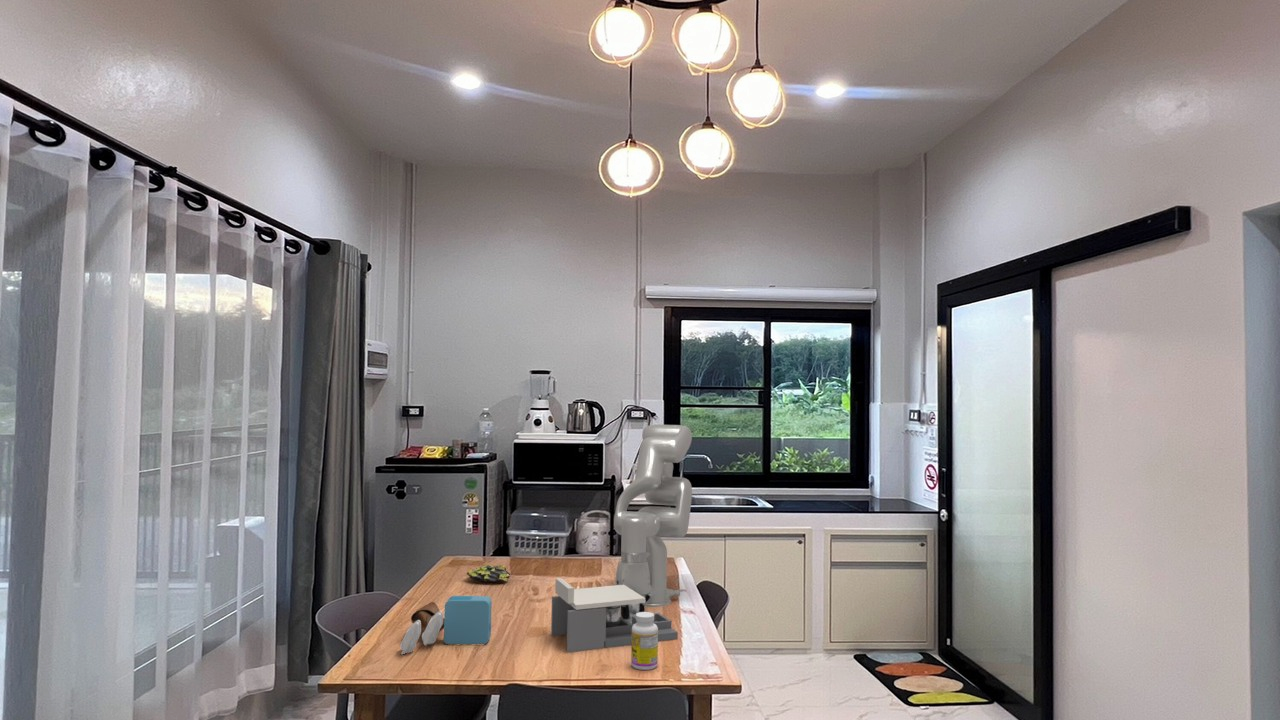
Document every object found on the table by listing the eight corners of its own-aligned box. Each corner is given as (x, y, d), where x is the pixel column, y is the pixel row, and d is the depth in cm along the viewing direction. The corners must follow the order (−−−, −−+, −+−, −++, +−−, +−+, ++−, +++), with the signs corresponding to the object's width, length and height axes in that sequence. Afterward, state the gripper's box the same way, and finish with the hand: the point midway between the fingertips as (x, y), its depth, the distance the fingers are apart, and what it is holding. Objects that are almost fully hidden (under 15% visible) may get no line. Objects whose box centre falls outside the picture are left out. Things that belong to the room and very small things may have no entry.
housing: (654, 623, 223) (654, 586, 223) (677, 639, 208) (678, 600, 209) (551, 634, 210) (551, 596, 211) (568, 652, 196) (568, 611, 196)
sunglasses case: (435, 636, 201) (437, 610, 202) (409, 636, 201) (411, 610, 202) (447, 624, 219) (449, 601, 220) (423, 624, 218) (425, 600, 219)
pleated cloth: (475, 573, 287) (480, 556, 288) (515, 584, 285) (520, 567, 287) (461, 576, 267) (466, 558, 269) (504, 588, 266) (509, 570, 267)
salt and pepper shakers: (430, 632, 204) (448, 603, 201) (438, 644, 202) (456, 614, 198) (394, 644, 194) (412, 613, 191) (402, 656, 192) (420, 625, 189)
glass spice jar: (616, 626, 212) (617, 600, 212) (622, 631, 208) (622, 604, 208) (602, 628, 210) (602, 601, 211) (607, 633, 206) (608, 605, 207)
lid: (623, 588, 220) (624, 570, 220) (645, 602, 205) (645, 583, 205) (553, 595, 211) (553, 576, 211) (570, 610, 196) (570, 590, 197)
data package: (490, 639, 206) (491, 595, 206) (488, 645, 201) (489, 600, 202) (446, 640, 205) (448, 595, 206) (443, 645, 200) (444, 600, 201)
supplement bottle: (630, 661, 190) (630, 610, 191) (656, 661, 190) (656, 610, 191) (632, 671, 183) (632, 618, 184) (658, 670, 184) (659, 618, 184)
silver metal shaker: (636, 617, 228) (636, 592, 229) (642, 621, 224) (642, 596, 225) (623, 619, 227) (623, 594, 227) (628, 623, 223) (628, 597, 223)
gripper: (653, 553, 233) (652, 612, 232) (603, 556, 227) (602, 617, 226) (663, 557, 226) (662, 619, 225) (611, 561, 220) (610, 624, 219)
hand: (632, 617), depth 226 cm, fingers closed on silver metal shaker, 4 cm apart
